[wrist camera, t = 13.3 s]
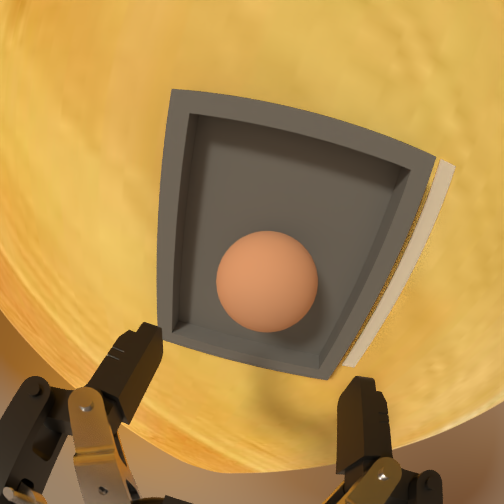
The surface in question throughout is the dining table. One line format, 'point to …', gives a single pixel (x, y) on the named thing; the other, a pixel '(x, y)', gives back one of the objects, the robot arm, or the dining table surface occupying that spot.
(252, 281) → the ball
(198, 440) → the dining table surface
